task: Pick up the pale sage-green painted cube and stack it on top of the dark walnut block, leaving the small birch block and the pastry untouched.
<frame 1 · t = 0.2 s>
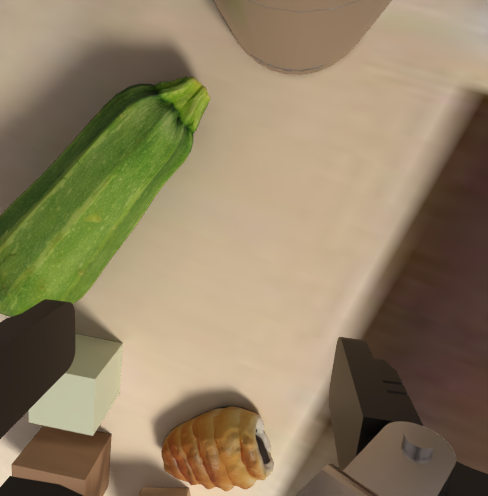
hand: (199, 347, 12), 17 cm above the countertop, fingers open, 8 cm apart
walnut block: (79, 452, 37), on the countertop
sage cube: (93, 362, 33), on the countertop
vegetable: (115, 189, 29), on the countertop
pastry: (225, 436, 35), on the countertop
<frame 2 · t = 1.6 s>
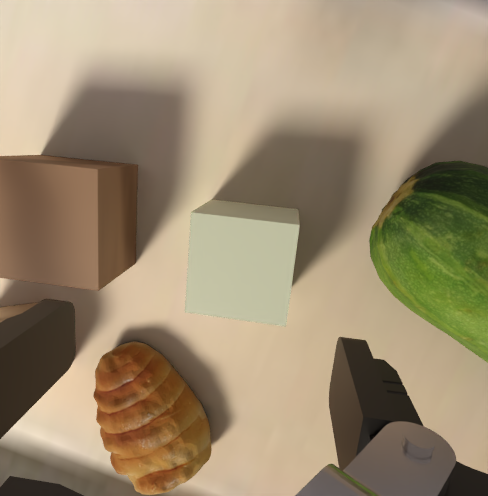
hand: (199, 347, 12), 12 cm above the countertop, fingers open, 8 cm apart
walnut block: (90, 209, 24), on the countertop
sage cube: (250, 245, 23), on the countertop
pastry: (157, 406, 27), on the countertop
birch block: (34, 334, 27), on the countertop
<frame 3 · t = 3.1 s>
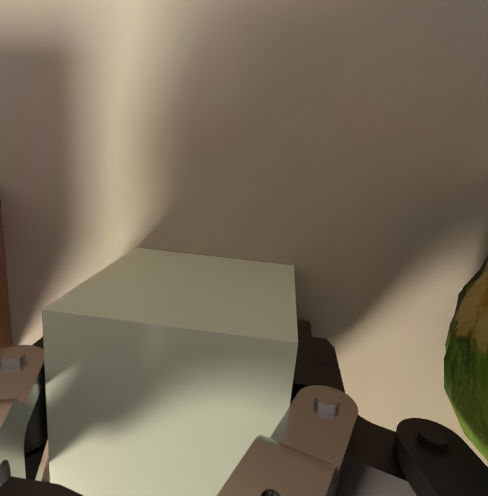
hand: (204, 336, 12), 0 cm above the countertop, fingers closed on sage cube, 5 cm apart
sage cube: (208, 329, 13), on the countertop, touching gripper
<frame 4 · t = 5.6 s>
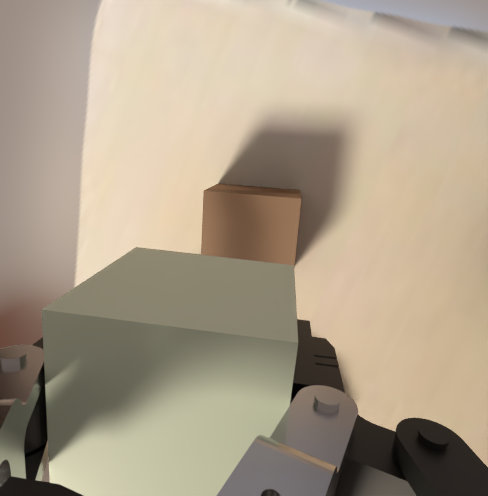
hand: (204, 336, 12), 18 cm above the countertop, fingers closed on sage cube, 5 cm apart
walnut block: (255, 226, 30), on the countertop
sage cube: (208, 329, 13), point 17 cm above the countertop, touching gripper
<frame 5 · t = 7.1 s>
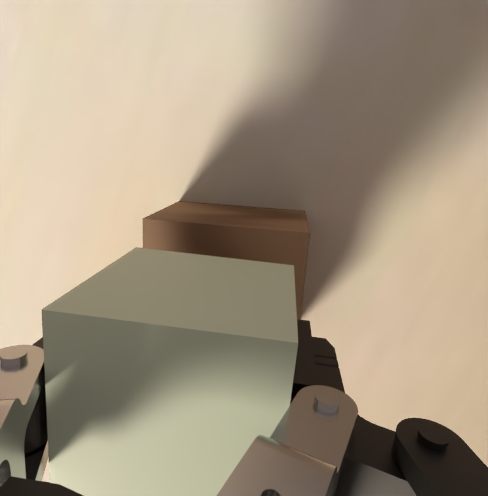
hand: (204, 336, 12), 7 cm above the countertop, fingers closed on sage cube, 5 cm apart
walnut block: (237, 265, 20), on the countertop
sage cube: (208, 329, 13), point 7 cm above the countertop, touching gripper
when the fingers open (6 cm above the countertop, at t = 8.1 s): sage cube moves 1 cm, resting on walnut block.
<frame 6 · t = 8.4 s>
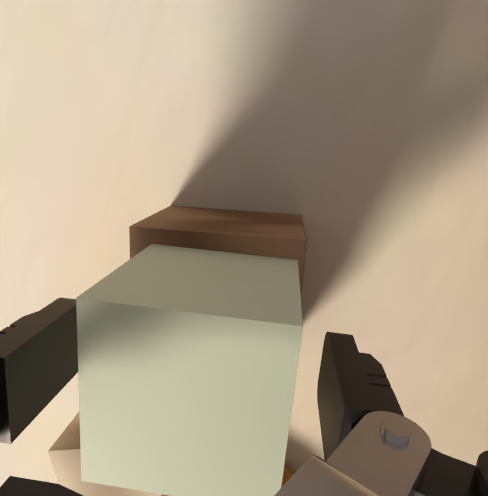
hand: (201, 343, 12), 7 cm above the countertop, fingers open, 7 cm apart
walnut block: (232, 272, 19), on the countertop, touching sage cube
sage cube: (218, 319, 14), point 5 cm above the countertop, touching walnut block
birch block: (145, 421, 21), on the countertop
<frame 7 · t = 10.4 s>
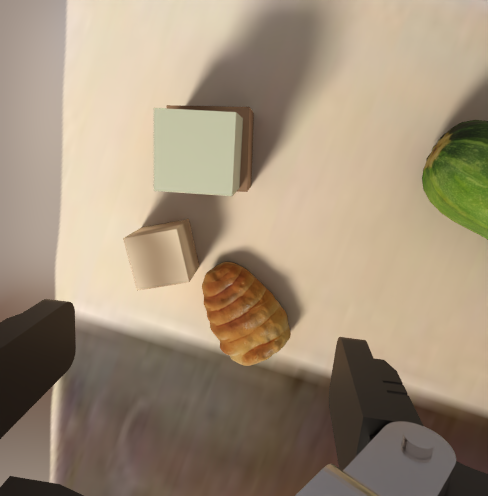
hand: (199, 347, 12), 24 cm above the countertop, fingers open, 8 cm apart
walnut block: (217, 149, 34), on the countertop, touching sage cube
sage cube: (207, 151, 29), point 5 cm above the countertop, touching walnut block
pastry: (244, 311, 38), on the countertop
birch block: (170, 246, 36), on the countertop
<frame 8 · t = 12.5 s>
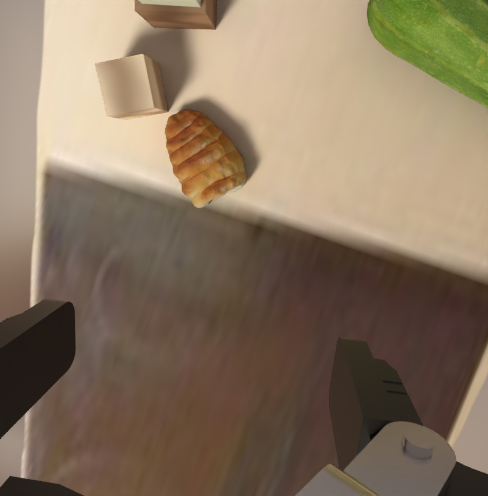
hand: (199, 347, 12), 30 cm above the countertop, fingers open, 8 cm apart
vegetable: (458, 59, 36), on the countertop
pastry: (206, 162, 41), on the countertop
birch block: (142, 92, 39), on the countertop
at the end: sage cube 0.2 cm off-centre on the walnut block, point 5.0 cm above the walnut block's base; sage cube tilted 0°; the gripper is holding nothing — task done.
